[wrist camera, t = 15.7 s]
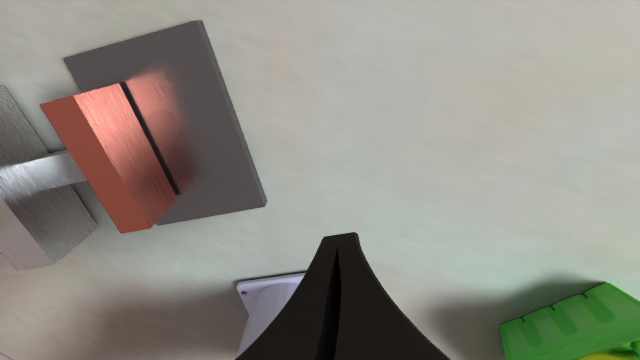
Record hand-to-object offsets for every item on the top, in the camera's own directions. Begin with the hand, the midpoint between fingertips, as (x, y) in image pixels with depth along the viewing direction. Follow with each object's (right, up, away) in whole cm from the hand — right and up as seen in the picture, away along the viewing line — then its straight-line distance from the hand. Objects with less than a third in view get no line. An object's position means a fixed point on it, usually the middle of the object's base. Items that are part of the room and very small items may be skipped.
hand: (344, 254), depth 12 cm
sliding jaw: (-17, +4, +9) cm, 20 cm away
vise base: (-10, +6, +8) cm, 14 cm away
